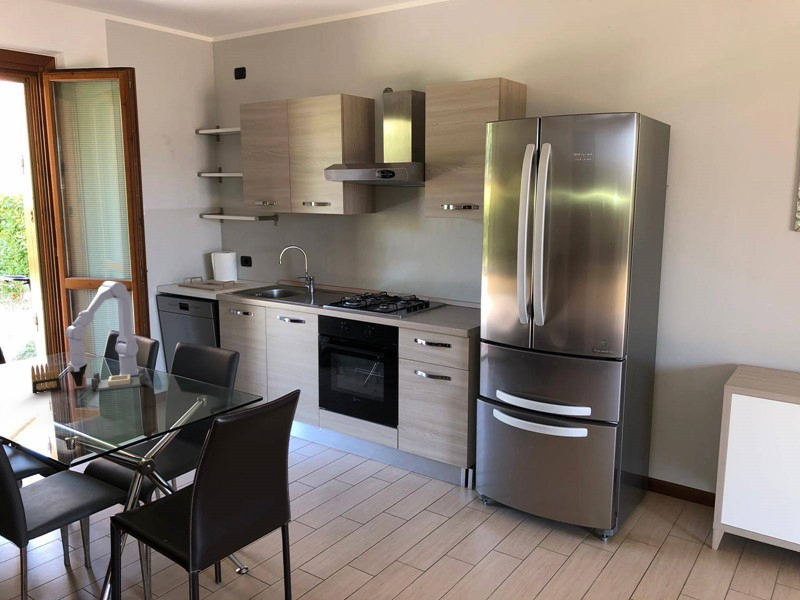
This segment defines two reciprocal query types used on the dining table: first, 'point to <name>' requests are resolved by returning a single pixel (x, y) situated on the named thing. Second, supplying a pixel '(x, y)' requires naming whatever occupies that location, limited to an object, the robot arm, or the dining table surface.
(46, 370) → the ammunition clip
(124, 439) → the dining table surface
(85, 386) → the block
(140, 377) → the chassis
